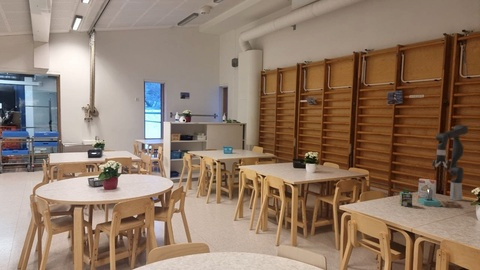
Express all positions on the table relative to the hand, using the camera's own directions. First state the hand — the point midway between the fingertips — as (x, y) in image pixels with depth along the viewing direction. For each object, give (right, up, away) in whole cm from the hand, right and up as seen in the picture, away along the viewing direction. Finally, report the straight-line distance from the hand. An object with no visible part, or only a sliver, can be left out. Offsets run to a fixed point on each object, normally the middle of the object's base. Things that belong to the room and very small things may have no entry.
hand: (440, 171), depth 311 cm
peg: (-17, -30, -10) cm, 36 cm away
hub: (-17, -30, -10) cm, 36 cm away
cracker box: (-10, -30, +6) cm, 32 cm away
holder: (+1, -31, -14) cm, 34 cm away
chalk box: (-42, -30, -16) cm, 54 cm away
